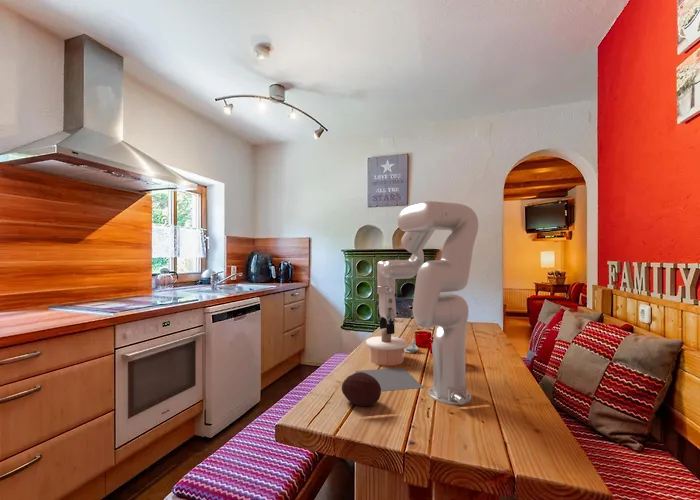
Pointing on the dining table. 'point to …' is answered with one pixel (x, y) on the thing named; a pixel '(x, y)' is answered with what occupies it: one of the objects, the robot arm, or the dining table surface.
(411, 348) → the pacifier
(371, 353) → the bowl
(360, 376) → the potato
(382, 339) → the lid
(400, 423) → the dining table surface
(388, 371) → the mat
